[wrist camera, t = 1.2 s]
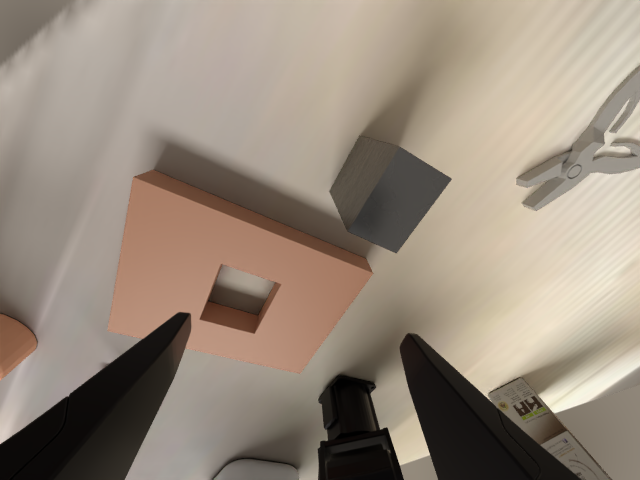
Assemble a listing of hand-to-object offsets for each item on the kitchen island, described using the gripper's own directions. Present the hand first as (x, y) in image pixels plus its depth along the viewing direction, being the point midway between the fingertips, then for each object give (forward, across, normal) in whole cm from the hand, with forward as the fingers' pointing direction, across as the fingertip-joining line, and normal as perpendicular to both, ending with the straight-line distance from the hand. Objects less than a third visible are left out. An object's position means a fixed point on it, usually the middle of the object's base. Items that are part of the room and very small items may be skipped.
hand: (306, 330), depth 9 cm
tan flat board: (+13, +4, +9) cm, 16 cm away
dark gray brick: (+13, -4, -4) cm, 14 cm away
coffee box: (+13, -42, +26) cm, 51 cm away
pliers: (+13, -25, -12) cm, 30 cm away
